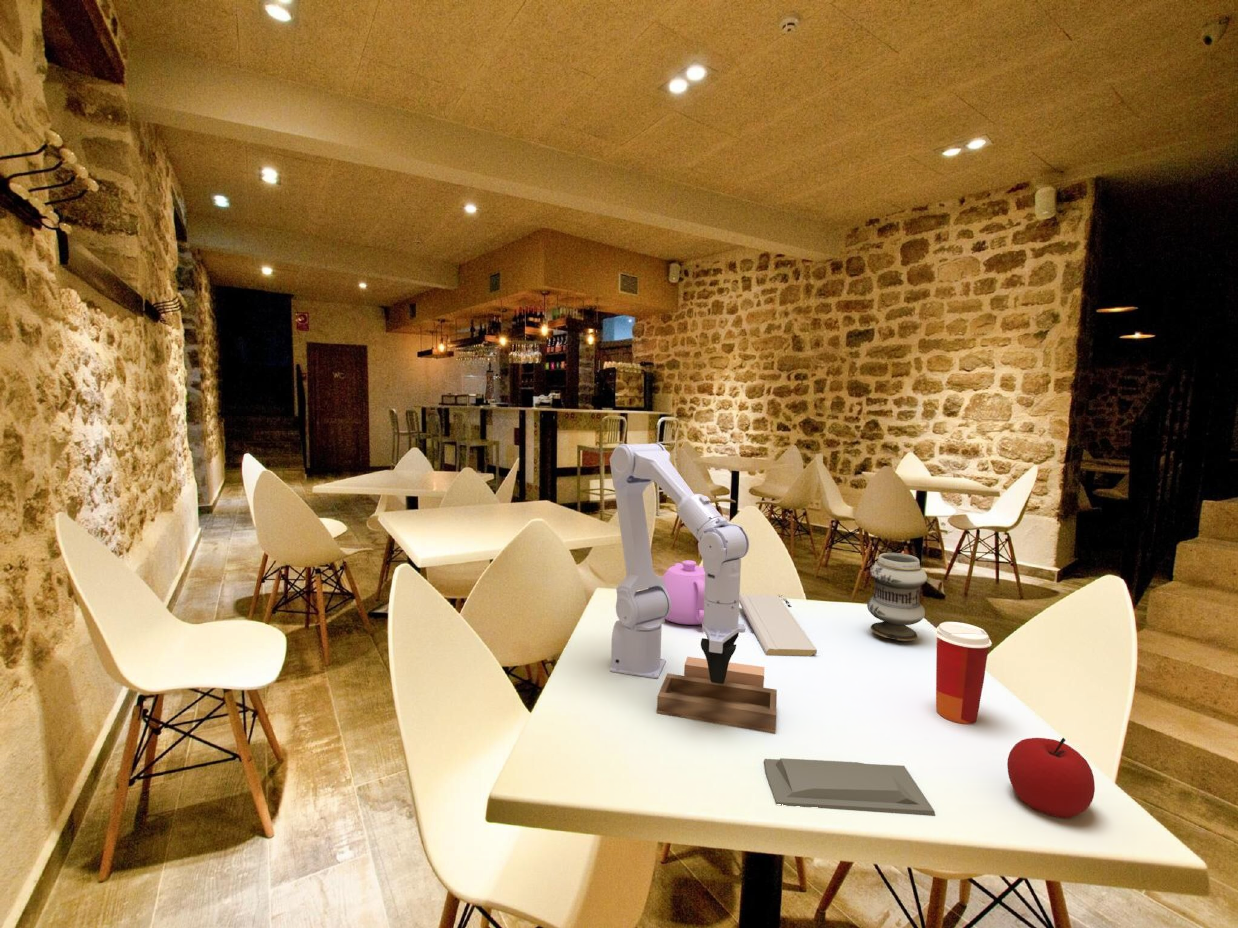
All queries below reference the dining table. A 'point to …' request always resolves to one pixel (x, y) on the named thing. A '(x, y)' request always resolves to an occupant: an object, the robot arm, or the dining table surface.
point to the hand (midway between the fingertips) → (718, 676)
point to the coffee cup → (960, 670)
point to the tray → (718, 702)
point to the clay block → (734, 672)
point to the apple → (1051, 777)
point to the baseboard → (775, 626)
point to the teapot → (685, 592)
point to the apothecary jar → (896, 595)
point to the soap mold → (845, 786)
